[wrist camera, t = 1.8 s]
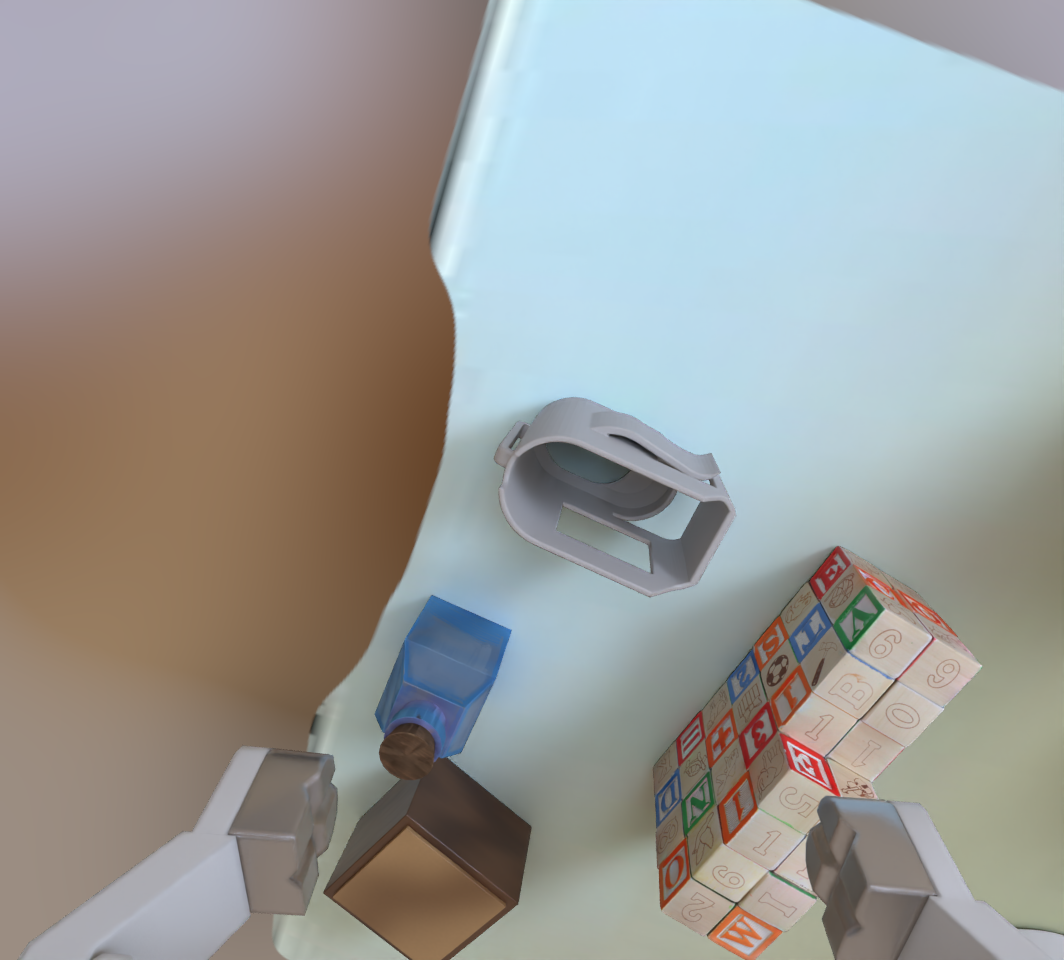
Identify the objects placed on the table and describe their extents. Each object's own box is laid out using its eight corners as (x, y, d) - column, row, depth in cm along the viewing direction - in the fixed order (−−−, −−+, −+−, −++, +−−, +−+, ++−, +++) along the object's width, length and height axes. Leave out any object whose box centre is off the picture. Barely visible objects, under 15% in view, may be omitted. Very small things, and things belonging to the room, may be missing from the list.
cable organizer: (677, 533, 46) (693, 619, 34) (505, 455, 46) (465, 515, 34) (725, 444, 44) (760, 503, 32) (545, 362, 44) (517, 393, 32)
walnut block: (532, 826, 54) (517, 908, 47) (453, 894, 57) (428, 980, 50) (433, 747, 53) (404, 817, 46) (358, 819, 56) (320, 896, 49)
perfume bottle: (403, 663, 51) (339, 775, 40) (431, 595, 49) (373, 691, 38) (480, 697, 51) (438, 818, 40) (511, 630, 49) (476, 737, 38)
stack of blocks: (835, 540, 44) (910, 635, 33) (917, 590, 45) (1020, 702, 33) (651, 768, 51) (658, 915, 39) (723, 810, 51) (751, 969, 40)
